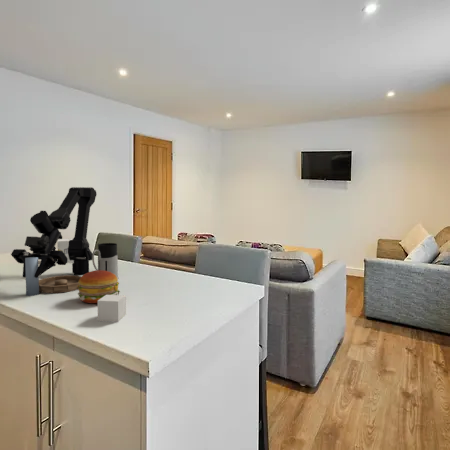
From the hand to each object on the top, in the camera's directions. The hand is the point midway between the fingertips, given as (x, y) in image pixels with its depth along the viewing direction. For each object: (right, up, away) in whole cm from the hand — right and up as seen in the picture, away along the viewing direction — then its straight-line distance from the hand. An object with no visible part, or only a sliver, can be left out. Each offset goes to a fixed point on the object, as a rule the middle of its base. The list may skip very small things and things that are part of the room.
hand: (29, 276), depth 121 cm
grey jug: (+18, -5, +22) cm, 29 cm away
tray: (+5, -6, +12) cm, 14 cm away
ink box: (-16, -1, +63) cm, 65 cm away
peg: (0, -6, +2) cm, 7 cm away
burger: (+25, -8, -3) cm, 27 cm away
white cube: (+35, -9, -20) cm, 42 cm away
